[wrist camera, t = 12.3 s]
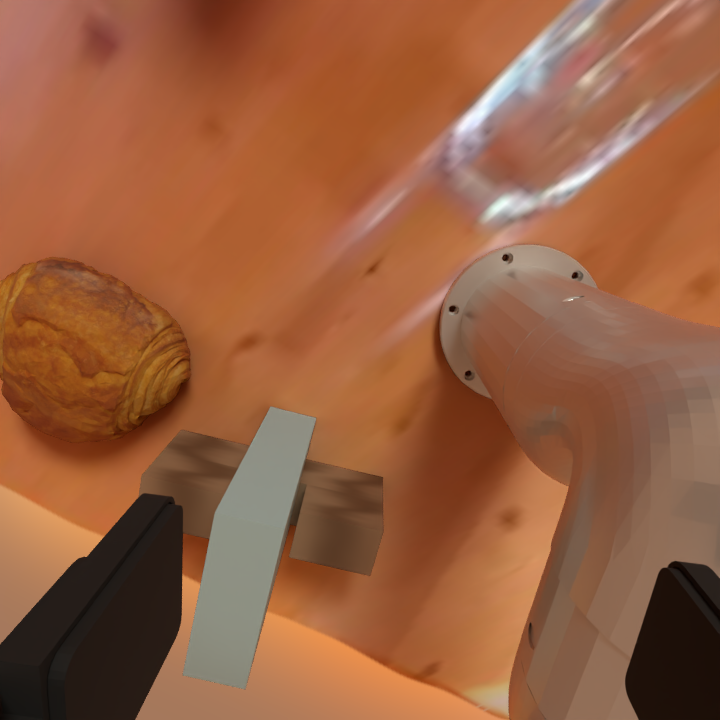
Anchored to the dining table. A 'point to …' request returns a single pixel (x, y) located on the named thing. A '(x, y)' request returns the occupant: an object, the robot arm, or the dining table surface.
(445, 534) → the dining table surface
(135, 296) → the croissant
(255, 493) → the plain rectangular block
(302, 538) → the mottled brown block
